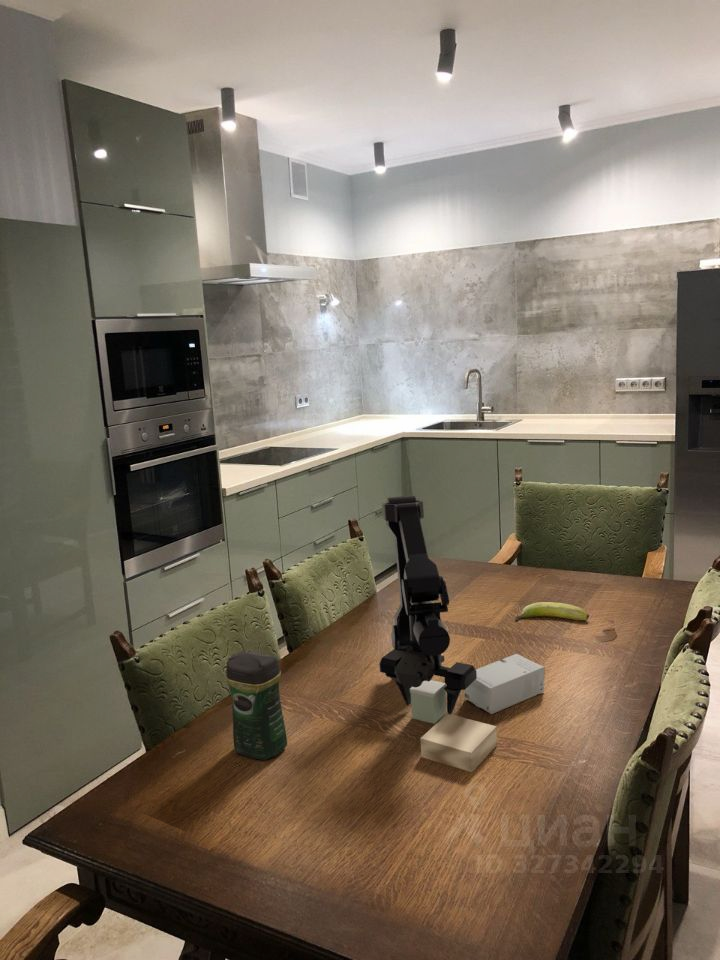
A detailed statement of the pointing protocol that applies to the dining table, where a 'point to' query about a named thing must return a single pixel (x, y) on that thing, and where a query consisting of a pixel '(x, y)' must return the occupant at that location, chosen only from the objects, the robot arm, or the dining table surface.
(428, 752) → the beech box
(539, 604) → the green-yellow banana
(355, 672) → the dining table surface
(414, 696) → the tea tin
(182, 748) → the dining table surface
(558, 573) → the dining table surface
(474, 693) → the skincare box
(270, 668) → the coffee jar
